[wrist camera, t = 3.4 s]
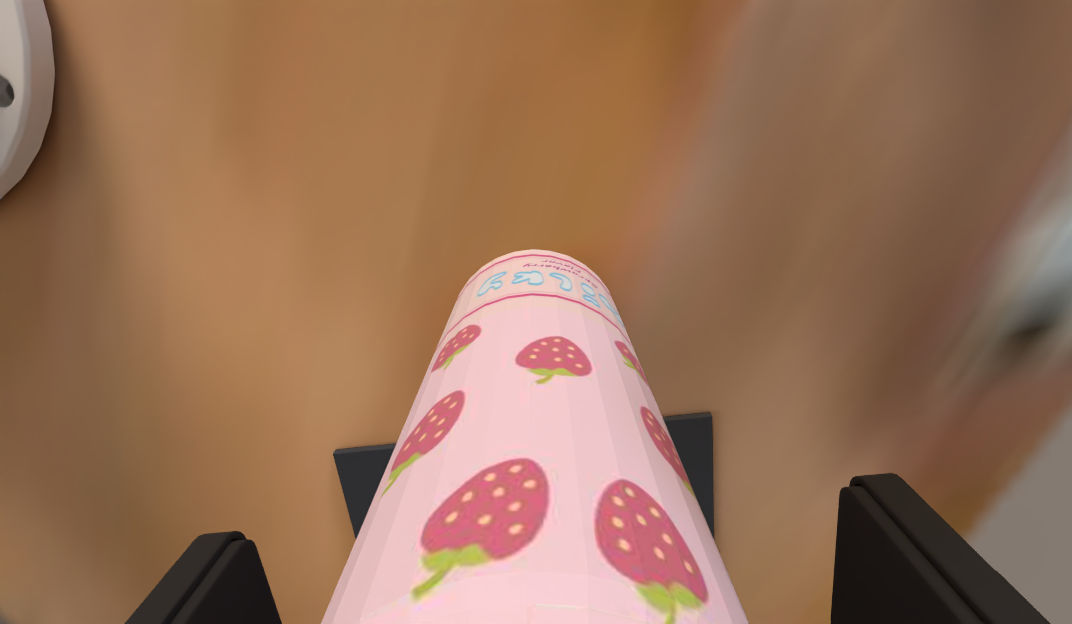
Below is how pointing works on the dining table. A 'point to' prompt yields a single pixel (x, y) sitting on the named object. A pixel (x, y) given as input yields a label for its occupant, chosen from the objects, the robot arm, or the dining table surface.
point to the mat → (686, 431)
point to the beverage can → (534, 475)
